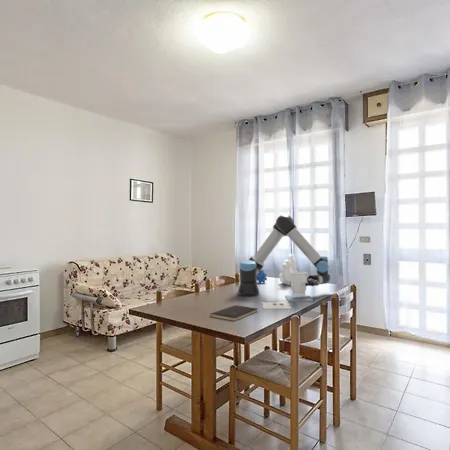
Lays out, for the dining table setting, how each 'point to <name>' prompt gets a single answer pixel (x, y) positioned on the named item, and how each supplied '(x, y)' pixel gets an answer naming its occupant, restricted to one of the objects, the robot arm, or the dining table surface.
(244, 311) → the hardcover book
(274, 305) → the tile
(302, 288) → the jar
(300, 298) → the mat
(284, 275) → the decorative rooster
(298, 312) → the dining table surface
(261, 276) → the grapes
